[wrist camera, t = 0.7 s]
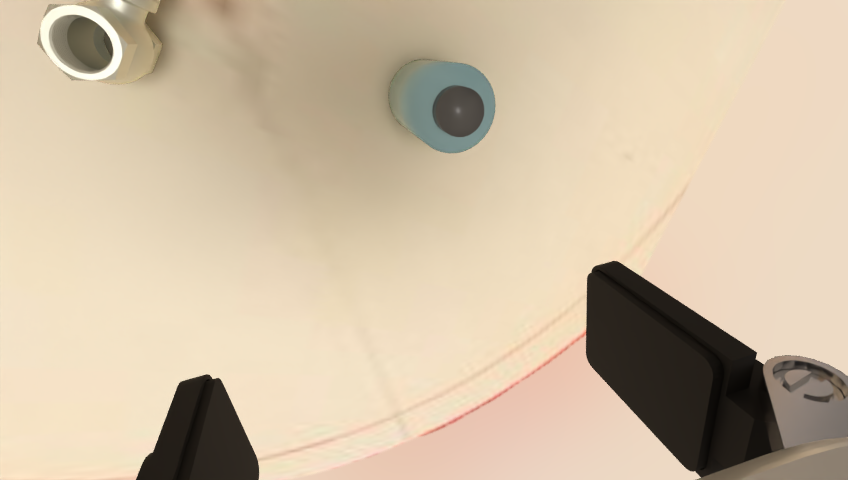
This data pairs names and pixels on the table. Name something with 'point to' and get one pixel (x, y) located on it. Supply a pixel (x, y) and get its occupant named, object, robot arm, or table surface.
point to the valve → (101, 39)
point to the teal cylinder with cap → (443, 103)
